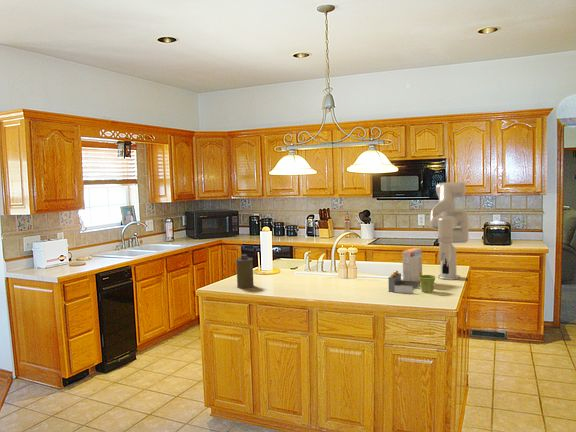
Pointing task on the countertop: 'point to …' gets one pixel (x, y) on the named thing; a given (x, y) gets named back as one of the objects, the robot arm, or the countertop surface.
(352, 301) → the countertop surface
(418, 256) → the cracker box
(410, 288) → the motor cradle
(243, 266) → the canister
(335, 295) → the countertop surface
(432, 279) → the plant pot
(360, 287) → the countertop surface
